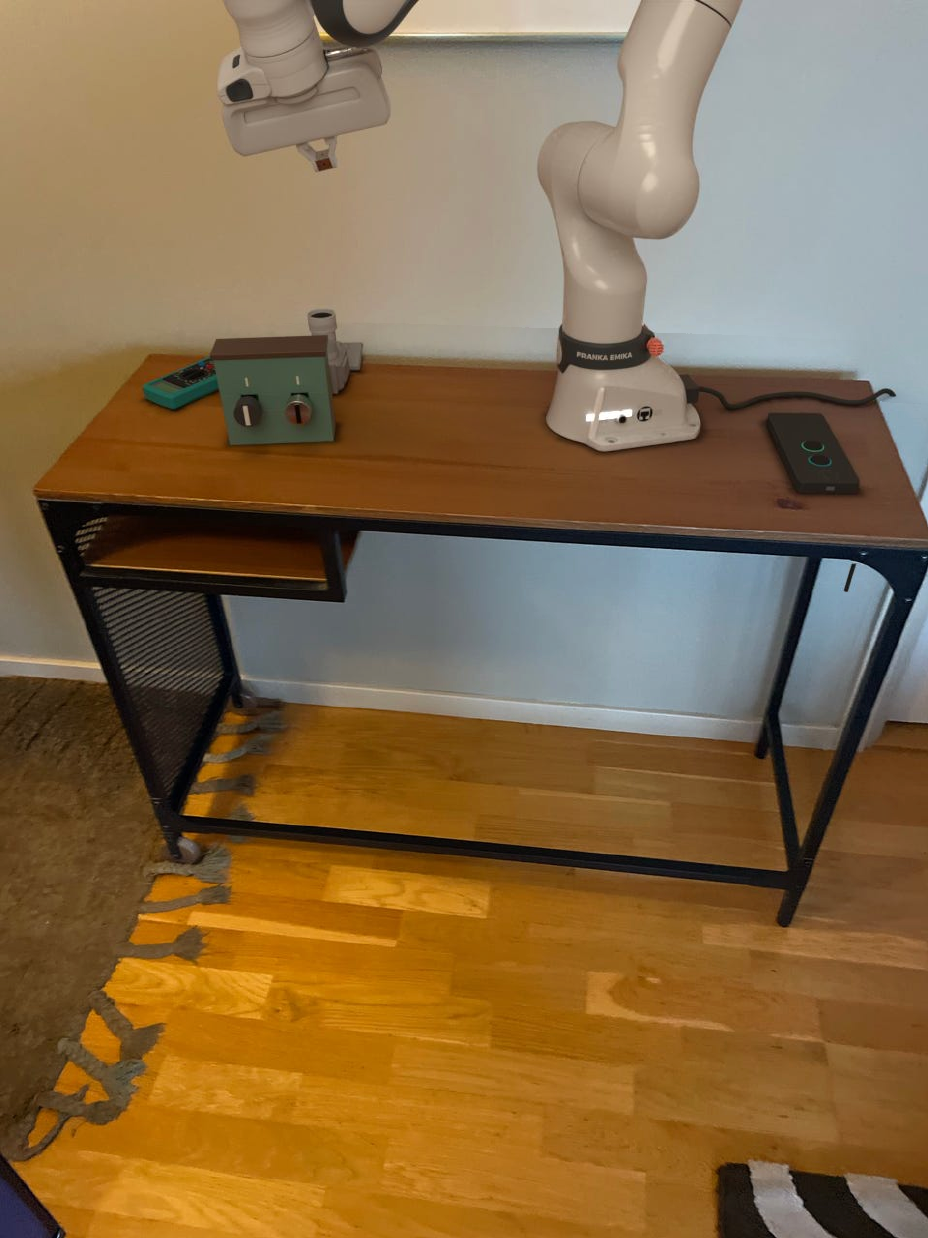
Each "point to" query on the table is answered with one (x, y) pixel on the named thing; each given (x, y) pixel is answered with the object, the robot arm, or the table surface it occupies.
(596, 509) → the table surface
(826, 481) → the smart home device
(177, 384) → the digital multimeter
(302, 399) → the steel knob
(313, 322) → the camera
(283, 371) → the console
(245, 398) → the black knob
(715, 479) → the table surface
